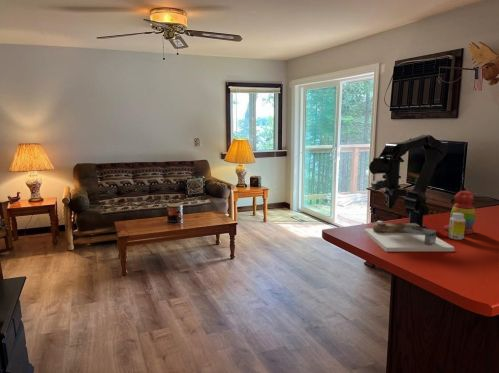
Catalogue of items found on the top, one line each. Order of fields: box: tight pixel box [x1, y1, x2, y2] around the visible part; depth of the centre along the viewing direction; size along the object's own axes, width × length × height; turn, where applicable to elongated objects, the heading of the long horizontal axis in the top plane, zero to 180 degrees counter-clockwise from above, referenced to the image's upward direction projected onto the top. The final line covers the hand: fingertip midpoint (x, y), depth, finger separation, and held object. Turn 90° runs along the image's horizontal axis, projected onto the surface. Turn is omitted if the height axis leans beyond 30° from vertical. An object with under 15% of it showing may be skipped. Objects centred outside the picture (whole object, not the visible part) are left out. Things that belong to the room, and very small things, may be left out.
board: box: [363, 220, 455, 252], centre depth 145 cm, size 24×25×6 cm
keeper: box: [404, 225, 438, 246], centre depth 140 cm, size 10×5×5 cm, turn 41°
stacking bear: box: [443, 190, 477, 235], centre depth 158 cm, size 11×10×18 cm
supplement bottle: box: [447, 212, 465, 240], centre depth 149 cm, size 6×6×10 cm
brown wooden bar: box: [372, 222, 420, 232], centre depth 152 cm, size 18×5×2 cm, turn 91°
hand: (389, 208), depth 159 cm, fingers closed
